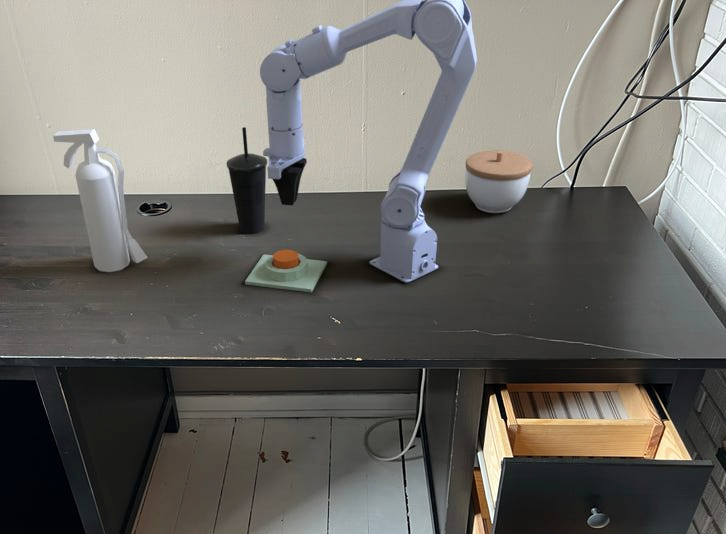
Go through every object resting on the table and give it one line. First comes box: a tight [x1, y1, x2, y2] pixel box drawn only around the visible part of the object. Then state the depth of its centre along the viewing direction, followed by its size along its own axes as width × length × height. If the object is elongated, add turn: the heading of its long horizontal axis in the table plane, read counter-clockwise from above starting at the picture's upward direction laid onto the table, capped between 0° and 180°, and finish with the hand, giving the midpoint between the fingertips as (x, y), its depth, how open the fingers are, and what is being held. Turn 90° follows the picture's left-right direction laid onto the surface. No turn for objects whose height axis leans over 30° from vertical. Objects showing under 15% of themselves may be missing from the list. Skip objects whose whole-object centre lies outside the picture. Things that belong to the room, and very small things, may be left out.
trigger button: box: [272, 249, 299, 269], centre depth 128 cm, size 4×4×2 cm
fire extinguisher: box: [52, 128, 149, 273], centre depth 128 cm, size 7×12×25 cm, turn 77°
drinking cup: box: [225, 126, 268, 235], centre depth 139 cm, size 8×8×20 cm
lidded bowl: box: [464, 149, 534, 214], centre depth 145 cm, size 13×13×11 cm
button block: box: [244, 253, 328, 293], centre depth 129 cm, size 12×10×2 cm
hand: (289, 202), depth 129 cm, fingers closed
